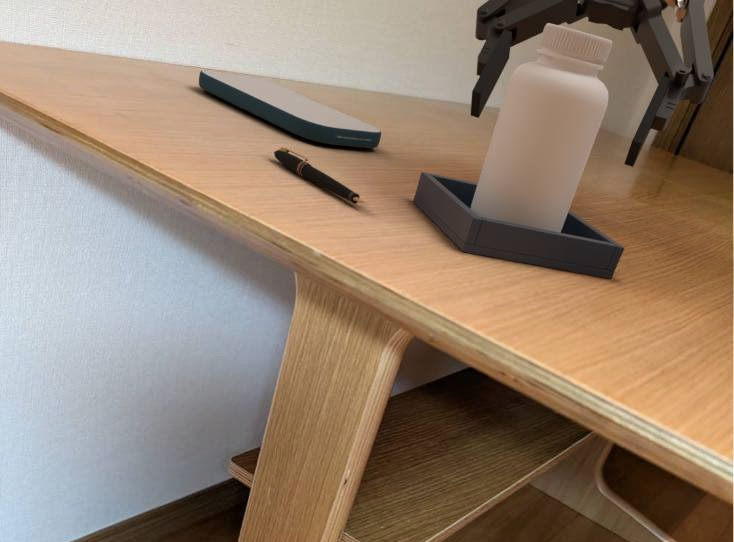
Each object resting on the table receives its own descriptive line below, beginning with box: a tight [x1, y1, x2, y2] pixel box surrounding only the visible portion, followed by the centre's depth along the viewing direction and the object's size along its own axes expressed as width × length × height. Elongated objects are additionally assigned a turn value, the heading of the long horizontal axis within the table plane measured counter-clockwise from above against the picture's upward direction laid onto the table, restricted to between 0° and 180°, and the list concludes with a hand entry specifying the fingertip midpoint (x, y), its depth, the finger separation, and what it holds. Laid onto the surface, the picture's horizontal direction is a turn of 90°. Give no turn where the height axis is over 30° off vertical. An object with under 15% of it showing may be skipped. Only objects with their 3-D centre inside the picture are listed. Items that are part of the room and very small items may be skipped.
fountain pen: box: [273, 147, 369, 206], centre depth 70 cm, size 14×1×2 cm, turn 35°
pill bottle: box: [471, 23, 614, 233], centre depth 66 cm, size 8×8×15 cm
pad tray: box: [412, 171, 625, 280], centre depth 70 cm, size 14×14×3 cm
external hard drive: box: [198, 69, 382, 149], centre depth 93 cm, size 24×12×2 cm, turn 40°
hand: (552, 129), depth 67 cm, fingers open, 13 cm apart
